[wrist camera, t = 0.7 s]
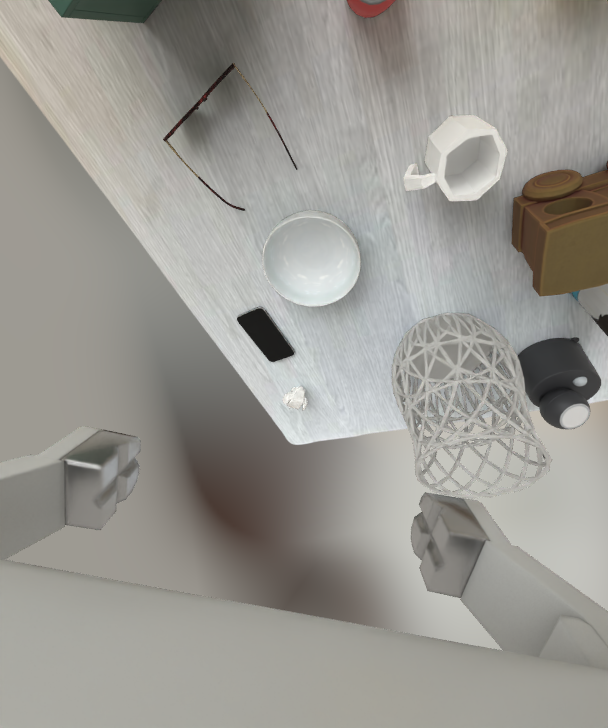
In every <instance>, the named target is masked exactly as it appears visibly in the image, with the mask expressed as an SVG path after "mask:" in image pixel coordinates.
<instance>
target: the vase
mask: <svg viewBox="0 0 608 728" xmlns="http://www.w3.org/2000/svg"><path fill="white" fill-rule="evenodd" d="M492 348H493V350H492ZM501 349H502V350H501ZM497 351H498V352H499V354H500V356H499V355H498V354H497ZM505 352H506V353H505ZM490 353H492V359H491V358H490V356H489V355H490ZM487 359H488V360H489V361H488V360H487ZM496 359H497V360H496ZM495 361H496V362H495ZM489 362H490V363H491V364H490V363H489ZM499 362H500V363H501V364H502V366H503V368H504V370H505V371H506V373H507V375H508V377H509V378H508V377H507V375H506V374H505V373H504V371H503V370H502V368H501V366H500V365H499V364H498V363H499ZM482 363H483V364H484V365H485V366H486V367H487V368H486V369H485V370H483V369H482V368H481V366H480V365H481V364H482ZM399 366H400V367H399ZM476 368H478V369H479V371H480V372H479V373H477V374H476V373H474V370H475V369H476ZM495 368H496V369H497V370H498V371H499V372H498V371H497V370H496V369H495ZM403 370H404V371H405V374H404V373H403ZM487 372H490V374H489V376H488V375H487V374H486V373H487ZM510 372H511V373H510ZM465 374H466V376H467V378H466V379H464V377H463V375H465ZM511 374H512V376H513V378H512V376H511ZM410 375H411V376H413V377H415V379H414V385H413V392H412V395H409V394H410V386H411V380H410ZM470 376H471V377H470ZM498 377H499V378H500V379H501V380H499V378H498ZM401 378H402V382H401ZM474 378H475V380H471V379H474ZM418 379H420V380H422V383H421V385H420V387H419V389H418ZM452 379H455V380H452ZM430 382H435V386H433V387H432V386H431V385H430ZM443 382H444V384H445V385H443V386H440V385H441V384H442V383H443ZM447 383H449V384H447ZM458 383H459V385H460V388H461V392H462V396H463V402H464V408H463V407H462V405H461V403H460V401H459V398H458V394H457V387H458ZM463 383H464V384H465V385H466V386H467V387H468V388H469V389H470V390H471V391H472V392H473V394H474V396H475V404H474V403H473V401H472V399H471V397H470V395H469V394H468V392H467V390H466V388H465V386H464V384H463ZM473 383H478V385H479V387H480V389H481V390H482V397H481V395H480V394H479V393H478V392H477V391H476V390H475V387H474V385H473ZM482 383H486V384H487V386H486V388H484V386H483V384H482ZM424 384H425V392H424ZM495 384H496V385H497V386H498V388H499V389H500V391H499V389H498V388H497V386H496V385H495ZM491 385H492V386H493V388H494V389H495V390H496V392H497V393H498V395H499V396H500V398H499V399H498V400H496V401H495V399H494V395H493V392H492V389H491ZM439 386H440V387H439ZM449 386H451V389H452V393H451V397H450V398H449V392H448V387H449ZM392 387H393V394H394V396H395V398H396V401H397V405H398V407H399V409H400V411H401V413H402V415H403V417H404V420H405V422H406V425H407V427H408V430H409V432H410V435H411V437H412V440H413V446H414V454H415V474H416V477H417V480H418V481H419V482H420V483H421V484H422V485H424V486H425V487H427V488H429V489H430V490H432V491H433V492H437V493H441V494H444V495H452V496H455V497H459V498H476V497H493V496H498V495H503V494H507V493H511V492H516V491H519V490H523V489H525V488H527V487H530V486H531V485H533V484H534V483H535V482H536V481H537V480H538V479H540V478H541V477H542V476H544V475H545V474H546V473H547V472H549V470H550V463H551V461H552V459H551V457H550V455H549V454H548V452H547V451H546V448H545V447H544V445H543V443H542V441H541V440H540V438H539V437H538V435H537V434H536V431H535V429H534V426H533V423H532V420H531V417H530V414H529V411H528V408H527V402H526V394H525V384H524V376H523V372H522V368H521V365H520V361H519V359H518V357H517V355H516V353H515V352H514V350H513V348H512V347H511V345H510V344H509V342H508V341H507V340H506V339H505V338H504V337H503V336H502V335H501V334H500V333H499V332H498V331H497V330H496V329H495V328H493V327H492V326H490V325H488V324H486V323H485V322H484V321H482V320H480V319H478V318H476V317H474V316H472V315H470V314H466V313H444V314H440V315H436V316H433V317H429V318H426V319H422V320H421V321H420V322H419V323H417V324H416V325H415V326H414V327H412V328H411V329H410V330H409V331H407V332H406V333H405V334H404V336H403V339H402V341H401V342H400V344H399V346H398V348H397V350H396V353H395V355H394V360H393V364H392ZM503 387H504V388H503ZM444 388H445V389H444ZM506 388H507V389H510V390H511V391H510V393H509V394H507V393H506ZM441 389H444V394H445V397H446V399H445V398H444V397H443V396H442V395H441V392H440V390H441ZM404 391H405V393H404ZM489 392H490V395H491V398H490V396H489V395H488V393H489ZM432 393H434V394H435V395H436V411H435V408H434V406H433V404H432ZM465 394H466V396H467V398H468V400H469V402H470V403H471V405H472V407H473V409H474V411H472V412H468V410H467V404H466V398H465ZM512 395H513V398H512V400H511V399H510V397H511V396H512ZM419 396H421V397H420V398H418V397H419ZM504 396H505V397H504ZM438 397H439V398H440V401H441V404H442V407H443V410H444V413H445V414H444V416H441V415H439V410H438ZM403 398H404V400H403ZM410 398H412V401H411V400H410ZM424 398H425V402H424ZM454 398H455V400H456V402H455V406H453V402H454ZM486 398H488V400H489V401H487V400H486ZM428 399H429V403H428ZM478 400H480V401H481V402H480V404H479V403H478ZM507 400H508V402H509V403H510V405H511V406H510V407H509V406H508V404H507V402H506V401H507ZM519 400H520V403H521V408H520V411H519V410H518V404H519ZM420 401H421V409H420V403H419V402H420ZM443 401H444V402H445V403H446V404H447V409H446V408H445V405H444V402H443ZM403 402H405V405H404V404H403ZM499 402H500V403H499ZM498 403H499V404H498ZM484 404H485V405H486V406H487V407H489V408H487V409H486V410H482V411H480V410H481V408H482V407H483V405H484ZM491 404H492V405H491ZM503 404H504V405H505V407H506V408H507V410H508V412H506V411H504V410H503ZM416 405H417V407H418V408H417V407H416ZM423 405H424V410H423ZM475 405H476V406H475ZM430 406H431V409H432V410H430V409H429V408H430ZM458 406H459V407H460V409H461V410H462V411H461V410H459V409H458V408H457V407H458ZM499 407H500V408H499ZM450 408H451V409H453V410H452V411H451V412H450ZM464 409H465V410H464ZM497 409H498V410H499V411H498V410H497ZM427 410H428V411H430V412H431V413H432V414H433V415H434V416H435V417H428V416H427ZM491 410H492V411H493V414H492V427H491V426H489V425H487V424H486V423H485V421H484V419H483V418H482V416H481V415H483V414H485V413H487V412H489V411H491ZM454 411H456V412H458V413H459V414H461V415H462V416H461V417H459V418H453V417H450V416H451V415H452V413H453V412H454ZM423 412H424V414H423ZM502 413H503V414H505V415H506V416H505V415H503V414H502ZM417 414H418V415H417ZM496 414H497V417H496V419H495V416H496ZM470 415H471V416H470ZM478 417H479V419H480V420H481V421H479V420H477V418H478ZM500 417H501V418H502V419H503V420H502V421H501V422H500V423H499V424H498V425H497V423H498V421H499V419H500ZM510 417H511V418H510ZM516 417H518V418H517V420H516ZM415 418H416V419H417V421H418V422H417V424H416V420H415ZM509 418H510V419H509ZM421 419H422V421H421ZM461 419H465V424H463V425H462V427H460V428H459V430H457V428H456V427H455V425H454V424H453V423H452V421H455V420H461ZM432 420H434V421H436V423H435V422H433V421H432ZM439 421H440V425H439ZM448 421H449V423H450V424H451V425H452V427H453V428H454V430H453V429H452V428H451V427H449V426H448V425H447V424H448ZM427 422H428V423H430V424H432V425H433V426H435V427H436V431H435V433H434V432H433V430H432V429H431V428H430V426H429V425H428V423H427ZM522 422H523V423H524V429H523V428H522V427H521V426H520V425H521V423H522ZM505 423H507V425H506V427H505V428H504V429H499V428H500V427H501V426H503V425H504V424H505ZM419 424H421V430H420V431H419V430H418V429H417V427H418V426H419ZM470 424H471V425H470ZM474 424H476V425H478V426H480V427H482V428H484V429H486V430H484V431H482V432H480V433H478V434H472V433H470V432H471V431H472V429H473V427H474ZM468 425H470V427H469V429H468ZM496 425H497V426H496ZM510 425H511V426H512V427H509V426H510ZM424 428H425V429H426V430H428V431H429V432H430V433H431V434H432V435H433V436H431V437H426V436H424V435H423V434H424ZM515 429H516V430H518V431H519V432H520V433H522V434H520V435H514V434H515ZM463 430H464V432H462V431H463ZM443 431H445V432H448V433H451V434H452V435H451V436H449V437H448V438H447V439H443V438H441V437H439V436H440V435H441V433H442V432H443ZM493 431H494V432H497V433H499V434H495V433H494V432H493ZM506 431H508V432H506ZM531 434H532V436H533V437H532V436H531ZM457 436H459V437H460V438H458V439H455V440H453V439H454V438H455V437H457ZM523 437H525V438H523ZM476 438H479V439H476ZM484 438H488V439H484ZM500 439H510V447H508V446H506V444H505V443H503V442H502V441H501V440H500ZM514 439H516V440H519V441H521V442H524V443H525V457H523V456H521V455H519V454H518V453H516V452H514V451H512V449H513V441H514ZM426 440H427V441H426ZM435 440H436V442H435ZM440 440H442V441H443V442H441V441H440ZM468 440H472V441H474V442H472V443H469V442H468ZM495 440H496V441H497V442H498V443H500V444H501V445H502V446H503V447H504V448H505V449H507V450H508V453H507V458H506V462H505V465H504V467H503V470H502V469H500V468H499V467H497V466H496V465H494V464H493V463H491V462H490V461H488V460H487V458H488V455H489V451H490V448H491V444H492V441H495ZM428 441H429V442H428ZM460 442H462V444H458V443H460ZM478 442H481V443H478ZM465 443H466V445H464V444H465ZM486 444H489V445H488V448H487V451H486V453H485V456H484V457H483V456H482V455H481V454H480V453H479V452H478V451H477V450H476V449H475V448H474V447H473V446H482V445H486ZM422 445H424V447H425V450H424V452H423V453H421V446H422ZM448 445H455V446H448ZM529 445H532V446H535V447H536V450H537V458H538V463H537V462H534V461H531V460H529ZM431 447H435V448H434V449H432V450H431V451H430V450H429V449H430V448H431ZM466 447H470V448H471V449H472V450H473V451H474V452H475V453H476V454H477V455H478V456H479V457H480V458H481V459H482V460H483V461H482V463H481V465H480V467H479V469H478V471H477V473H476V475H474V474H472V473H471V472H470V471H468V470H467V469H466V468H465V467H464V466H463V465H462V464H461V463H460V459H461V456H462V454H463V451H464V448H466ZM440 448H443V449H444V450H445V451H446V452H447V453H448V454H449V455H450V456H451V457H452V459H453V460H454V461H455V464H454V466H453V467H452V469H451V471H450V472H449V474H448V473H447V472H446V471H445V470H444V468H443V467H442V466H441V465H440V463H439V462H438V461H437V460H436V458H435V457H436V453H437V450H439V449H440ZM447 448H450V449H456V448H461V449H460V451H459V454H458V457H457V459H456V458H455V457H454V456H453V455H452V454H451V452H450V451H449V450H448V449H447ZM512 453H513V454H514V455H516V456H517V457H518V458H520V459H521V460H522V461H524V466H523V469H522V472H521V475H520V477H519V476H517V475H514V474H511V473H509V472H507V468H508V465H509V462H510V458H511V455H512ZM542 454H543V457H544V460H545V462H542ZM428 456H431V460H430V462H429V464H428V465H427V464H426V463H425V460H424V459H425V458H427V457H428ZM434 461H435V463H436V465H437V466H438V468H439V469H440V470H441V471H442V472H443V473H444V474H445V475H446V477H445V478H443V479H442V480H440V481H439V482H437V480H436V479H435V478H434V476H433V475H432V473H431V472H430V470H429V468H430V467H431V465H432V463H433V462H434ZM421 463H423V465H424V468H425V470H423V471H422V470H421V466H420V464H421ZM485 463H488V464H489V465H491V466H492V467H494V468H495V469H496V470H498V471H499V472H501V474H500V476H499V477H498V478H497V480H496V481H495V482H494V484H493V485H492V484H490V483H488V482H486V481H484V480H482V479H480V478H478V477H479V475H480V473H481V471H482V469H483V467H484V465H485ZM528 464H532V465H535V466H538V468H537V472H536V475H535V477H528V478H525V474H526V470H527V466H528ZM458 466H459V467H461V468H462V469H463V470H464V471H465V472H467V473H468V474H469V475H470V476H471V477H472V478H473V479H472V480H470V482H468V483H467V484H466V485H465V486H464V487H463V486H462V485H460V484H459V483H458V482H457V481H455V480H454V479H453V478H451V475H452V474H453V472H454V471H455V470H456V468H457V467H458ZM542 467H545V468H544V470H543V471H542ZM541 471H542V472H541ZM426 472H427V473H428V474H429V476H430V477H431V478H432V480H433V481H434V483H435V484H430V485H429V484H428V482H427V480H426V479H425V478H424V476H423V475H424V474H425V473H426ZM505 475H508V476H510V477H512V478H515V479H517V480H518V481H517V482H516V483H515V484H514V485H513V486H512V487H511V488H503V487H496V486H497V484H498V483H499V482H500V481H501V479H502V478H503V477H504V476H505ZM447 479H449V480H450V481H451V482H452V483H454V484H455V485H456V486H457V487H459V488H460V490H456V491H453V492H451V491H450V490H448V489H446V488H445V487H443V486H442V484H443V483H444V482H445V481H447ZM476 480H477V481H479V482H481V483H483V484H485V485H486V486H488V487H490V488H488V489H486V490H484V491H482V492H480V493H477V492H474V491H471V490H468V488H469V487H470V486H471V485H472V484H473V483H474V482H475V481H476ZM522 480H524V481H530V482H528V483H525V484H523V485H521V486H519V487H518V485H519V484H520V482H521V481H522ZM433 487H439V488H440V489H442V490H443V491H441V490H438V489H436V488H433ZM493 489H497V490H502V491H501V492H496V493H489V492H491V491H492V490H493ZM463 490H466V491H467V492H469V493H471V494H473V495H468V494H458V493H459V492H461V491H463ZM488 493H489V494H488Z"/></svg>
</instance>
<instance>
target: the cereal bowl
mask: <svg viewBox="0 0 608 728" xmlns="http://www.w3.org/2000/svg"><path fill="white" fill-rule="evenodd" d="M262 264H263V270H264V273H265V276H266V278H267V280H268V282H269V283H270V285H271V286H272V288H273V289H274V290H275V291H276V292H277V293H278V294H279V295H281V296H282V297H283V298H285V299H287V300H288V301H290V302H293V303H295V304H298V305H302V306H309V307H318V306H325V305H328V304H331V303H334V302H336V301H338V300H340V299H341V298H343V297H344V296H345V295H347V294H348V293H349V292H350V291H351V289H352V288H353V287H354V285H355V284H356V282H357V280H358V277H359V274H360V270H361V254H360V249H359V245H358V242H357V240H356V238H355V236H354V234H353V233H352V231H351V230H350V229H349V228H348V226H347V225H346V224H345V223H344V222H342V221H341V220H340V219H338V218H337V217H335V216H333V215H331V214H328V213H325V212H322V211H313V210H311V211H309V210H308V211H302V212H298V213H295V214H293V215H291V216H289V217H287V218H285V219H284V220H282V221H281V222H280V223H279V224H278V225H277V226H276V227H275V228H274V229H273V230H272V232H271V233H270V235H269V236H268V238H267V240H266V242H265V245H264V248H263V253H262Z"/></svg>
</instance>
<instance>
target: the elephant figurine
mask: <svg viewBox="0 0 608 728" xmlns="http://www.w3.org/2000/svg"><path fill="white" fill-rule="evenodd" d="M298 387H299V386H298ZM298 387H297V388H296V387H293V388H292V390H291V391H290V392H289V393H287V394H285V395H284V396H283V403H284V404H287V406H289V407H290V408H291V407H292V408H295V409H299V408H300V407H301V405H302V404H303V410H305V408H306V407H307V404H308V400H307V399H306V398H305V390H304V389H303V387H302V386H300V387H299V388H298ZM290 408H289V409H290Z"/></svg>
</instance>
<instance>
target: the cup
mask: <svg viewBox="0 0 608 728" xmlns="http://www.w3.org/2000/svg"><path fill="white" fill-rule="evenodd" d="M572 294H573V296H574V297H575V299H576V300H577V301H578V302H579V303H580V304H581V306H582V307H583V308H584V309H585V310H586V311H587V313H588V314H589V315H590V316H591V317H592V318H593V320H594V321H595V322H596V323H597V324H598V325H599V327H600V328H601V329H602V330H603V331H604V332H605V334H606V335H607V336H608V284H605V285H602V286H598V287H593V288H589V289H584V290H579V291H575V292H572Z"/></svg>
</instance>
